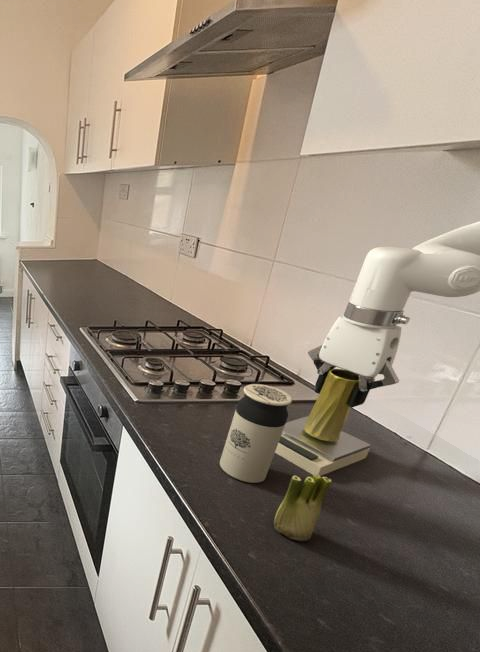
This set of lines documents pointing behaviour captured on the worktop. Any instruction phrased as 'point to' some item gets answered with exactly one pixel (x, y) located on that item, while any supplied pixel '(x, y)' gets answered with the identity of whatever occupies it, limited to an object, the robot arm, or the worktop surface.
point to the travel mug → (255, 432)
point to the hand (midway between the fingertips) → (337, 397)
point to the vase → (332, 405)
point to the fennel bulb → (301, 507)
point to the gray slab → (326, 448)
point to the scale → (313, 457)
